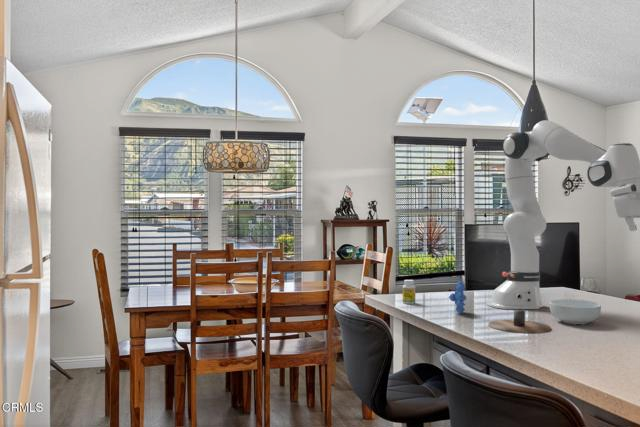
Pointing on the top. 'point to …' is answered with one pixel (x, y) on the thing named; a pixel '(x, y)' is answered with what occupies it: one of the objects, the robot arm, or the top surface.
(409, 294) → the supplement bottle
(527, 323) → the lid
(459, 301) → the grapes
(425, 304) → the top surface
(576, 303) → the cereal bowl
